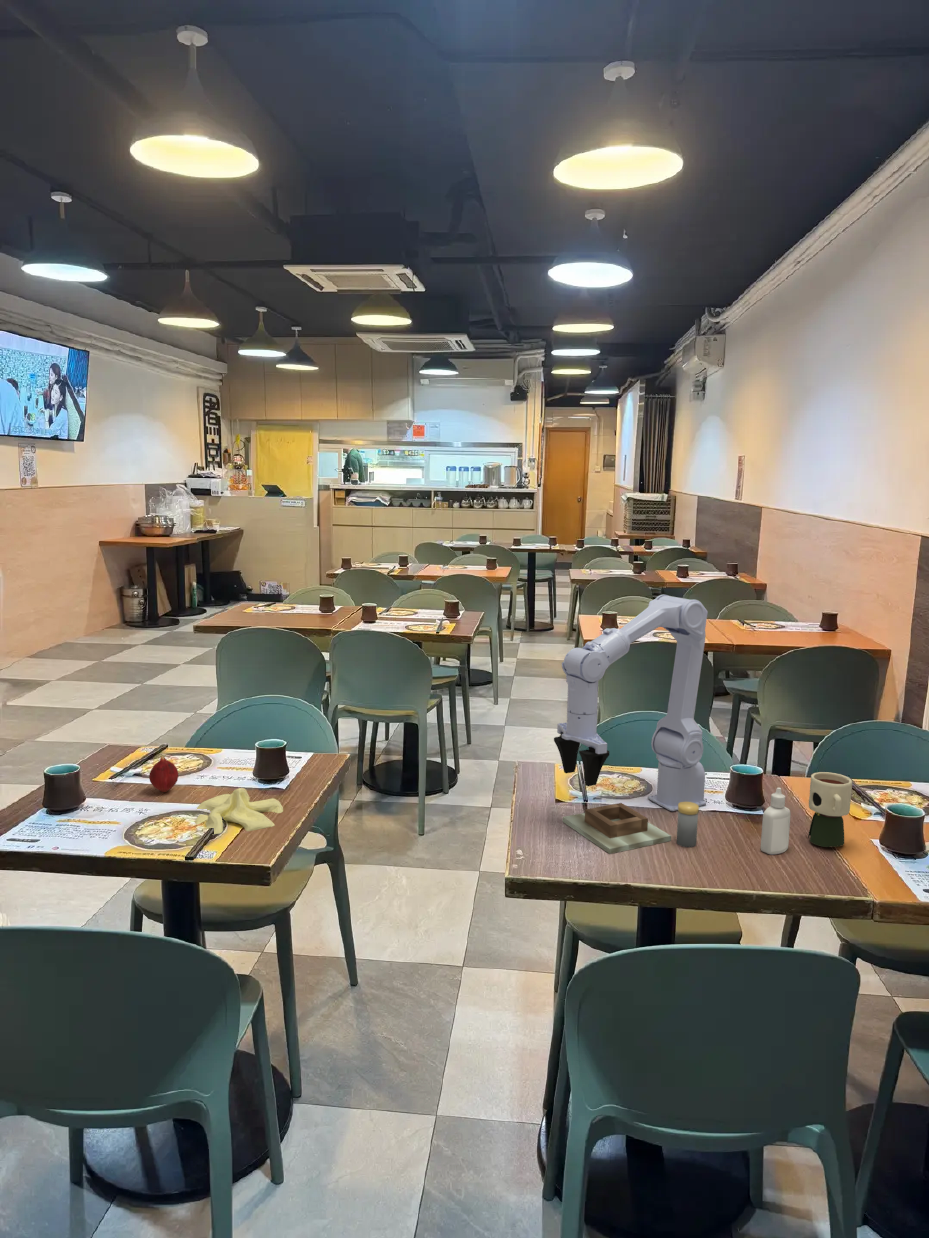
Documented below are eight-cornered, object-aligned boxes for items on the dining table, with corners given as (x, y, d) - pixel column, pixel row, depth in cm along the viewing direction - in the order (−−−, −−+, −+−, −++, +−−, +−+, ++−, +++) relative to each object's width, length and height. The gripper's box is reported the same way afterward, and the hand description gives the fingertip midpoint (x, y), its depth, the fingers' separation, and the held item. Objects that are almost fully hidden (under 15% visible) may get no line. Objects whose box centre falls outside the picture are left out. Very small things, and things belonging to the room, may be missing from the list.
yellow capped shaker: (687, 837, 160) (689, 800, 158) (700, 845, 156) (703, 807, 155) (672, 841, 158) (674, 803, 157) (685, 848, 155) (687, 810, 153)
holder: (620, 810, 172) (621, 794, 172) (670, 840, 158) (671, 823, 157) (562, 821, 166) (563, 804, 166) (609, 853, 152) (610, 835, 152)
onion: (184, 791, 180) (183, 755, 179) (162, 799, 175) (160, 762, 174) (167, 785, 183) (165, 750, 182) (144, 793, 178) (142, 757, 177)
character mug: (798, 830, 163) (803, 767, 161) (836, 833, 162) (842, 769, 160) (813, 855, 153) (819, 787, 151) (854, 857, 152) (861, 789, 150)
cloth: (206, 797, 178) (205, 770, 177) (293, 799, 178) (292, 771, 177) (168, 841, 156) (166, 810, 155) (267, 844, 156) (266, 812, 155)
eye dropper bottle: (794, 854, 153) (799, 792, 151) (764, 855, 152) (768, 792, 150) (783, 844, 157) (788, 783, 155) (754, 845, 157) (759, 784, 155)
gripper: (544, 703, 165) (543, 769, 167) (585, 723, 152) (582, 794, 154) (575, 700, 168) (573, 764, 170) (617, 718, 155) (614, 788, 157)
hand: (579, 778), depth 162 cm, fingers open, 7 cm apart
